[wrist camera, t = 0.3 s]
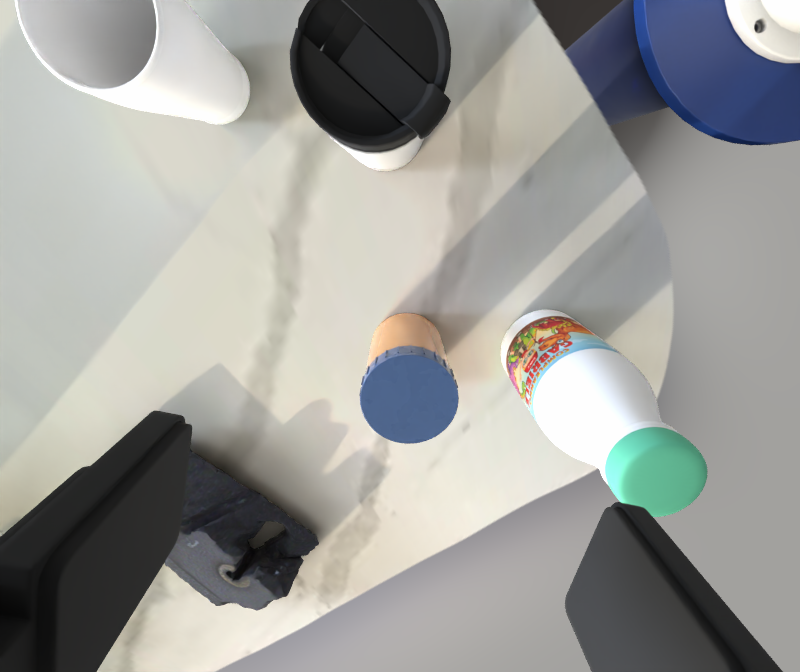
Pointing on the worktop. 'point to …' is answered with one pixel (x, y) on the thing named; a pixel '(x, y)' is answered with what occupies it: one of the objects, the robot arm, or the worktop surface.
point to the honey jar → (406, 335)
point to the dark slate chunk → (234, 541)
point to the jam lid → (409, 394)
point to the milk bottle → (601, 411)
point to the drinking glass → (138, 55)
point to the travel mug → (373, 74)
